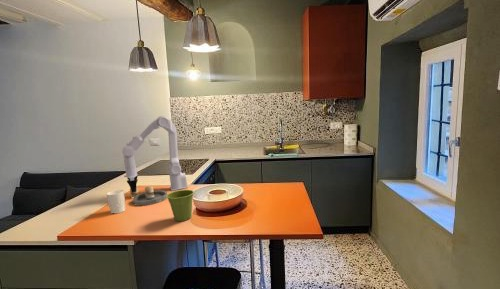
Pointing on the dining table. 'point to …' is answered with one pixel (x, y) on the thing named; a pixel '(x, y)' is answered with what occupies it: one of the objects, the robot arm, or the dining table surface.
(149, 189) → the bead
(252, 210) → the dining table surface
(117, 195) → the white cup
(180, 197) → the plant pot
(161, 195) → the groove dish
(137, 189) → the bead
